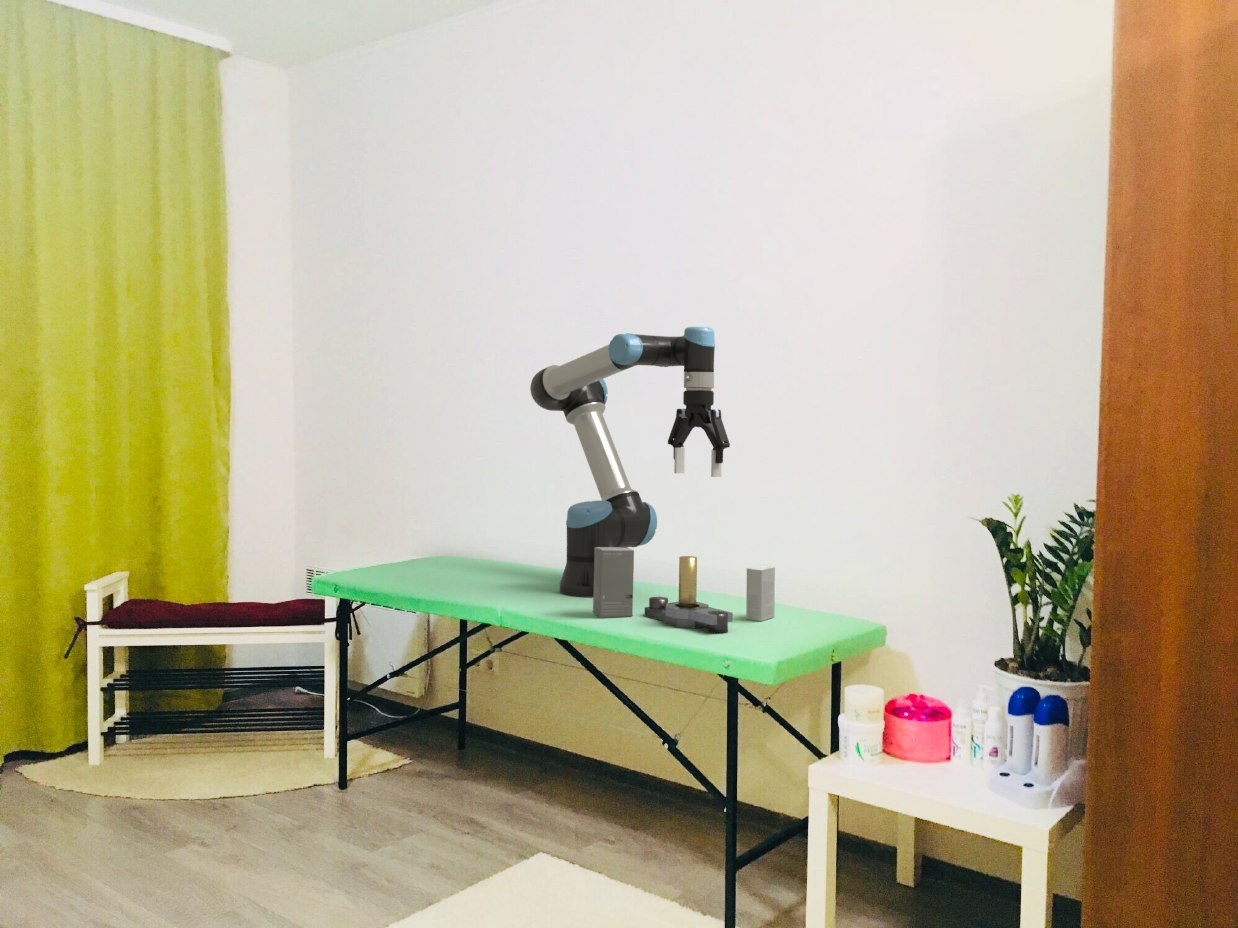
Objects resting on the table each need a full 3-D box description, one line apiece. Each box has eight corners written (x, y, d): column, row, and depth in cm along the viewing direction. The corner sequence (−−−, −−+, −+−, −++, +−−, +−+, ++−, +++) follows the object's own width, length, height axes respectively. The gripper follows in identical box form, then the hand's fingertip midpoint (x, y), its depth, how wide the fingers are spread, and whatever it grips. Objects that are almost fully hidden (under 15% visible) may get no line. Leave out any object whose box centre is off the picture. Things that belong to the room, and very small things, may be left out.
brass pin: (674, 622, 232) (675, 556, 231) (687, 620, 234) (688, 555, 233) (686, 625, 229) (687, 559, 228) (699, 623, 231) (700, 557, 230)
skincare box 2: (759, 614, 241) (759, 564, 240) (774, 617, 238) (775, 566, 238) (745, 619, 236) (746, 567, 236) (761, 621, 234) (761, 569, 233)
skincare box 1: (599, 618, 235) (600, 550, 234) (591, 612, 242) (592, 545, 241) (634, 616, 238) (635, 549, 237) (626, 610, 245) (626, 544, 244)
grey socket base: (636, 616, 238) (636, 599, 238) (667, 611, 244) (667, 594, 244) (708, 635, 219) (708, 617, 219) (740, 630, 225) (740, 612, 225)
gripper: (654, 389, 261) (653, 472, 263) (722, 389, 242) (721, 478, 243) (676, 389, 266) (675, 471, 267) (745, 389, 247) (743, 477, 248)
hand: (697, 475), depth 255 cm, fingers open, 13 cm apart
